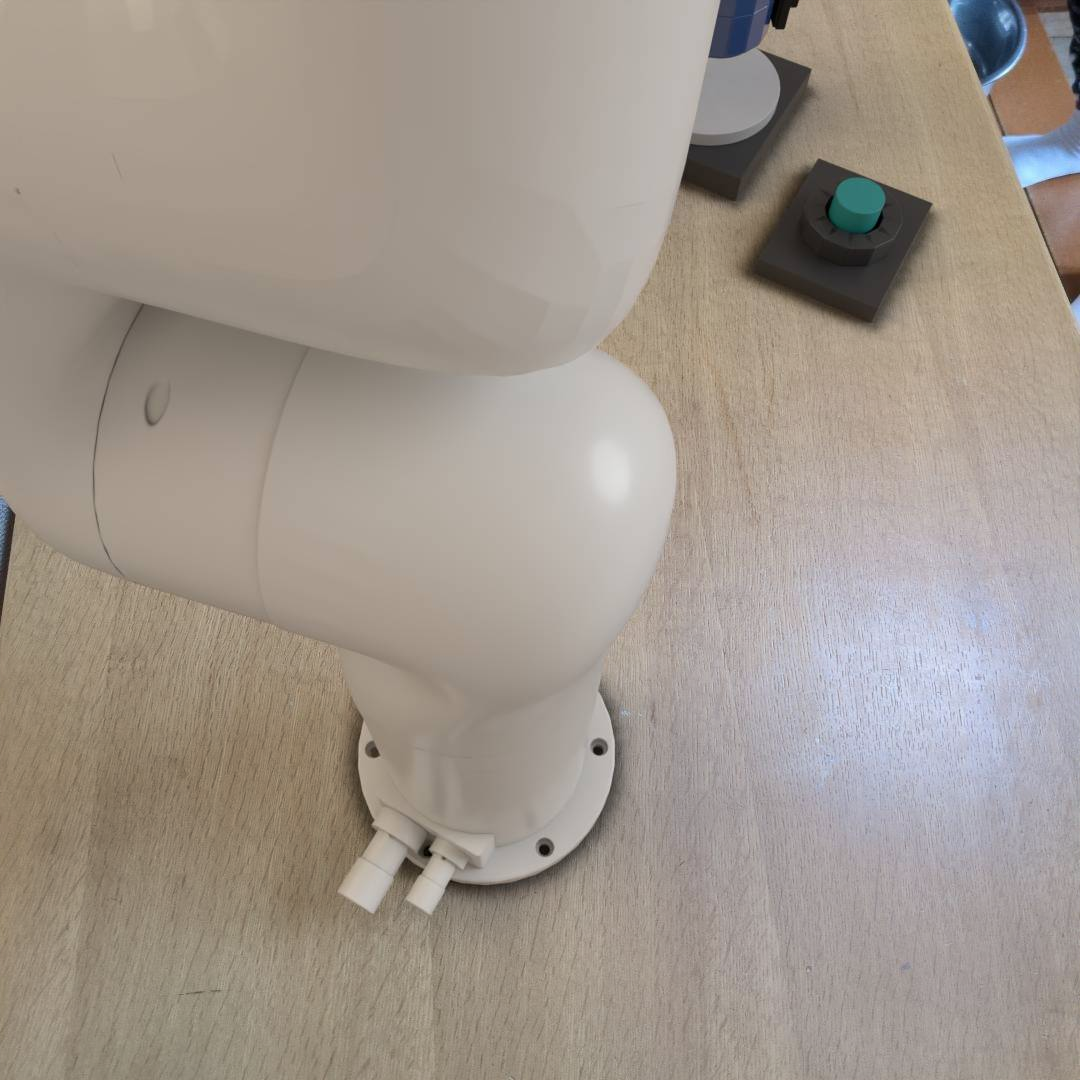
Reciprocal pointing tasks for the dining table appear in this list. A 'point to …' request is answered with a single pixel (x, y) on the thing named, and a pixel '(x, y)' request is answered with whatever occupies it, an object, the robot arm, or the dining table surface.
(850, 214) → the button
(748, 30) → the blue cup
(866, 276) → the panel
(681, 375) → the dining table surface
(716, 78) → the scale
